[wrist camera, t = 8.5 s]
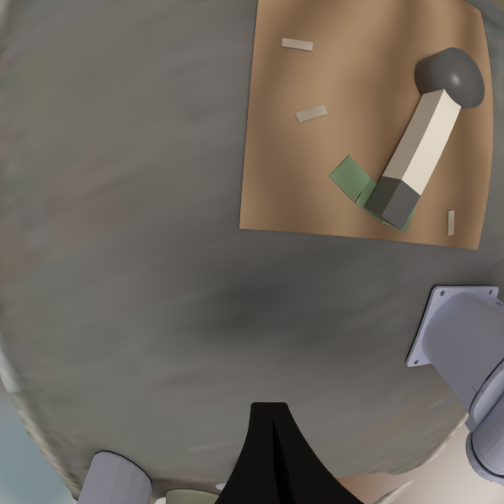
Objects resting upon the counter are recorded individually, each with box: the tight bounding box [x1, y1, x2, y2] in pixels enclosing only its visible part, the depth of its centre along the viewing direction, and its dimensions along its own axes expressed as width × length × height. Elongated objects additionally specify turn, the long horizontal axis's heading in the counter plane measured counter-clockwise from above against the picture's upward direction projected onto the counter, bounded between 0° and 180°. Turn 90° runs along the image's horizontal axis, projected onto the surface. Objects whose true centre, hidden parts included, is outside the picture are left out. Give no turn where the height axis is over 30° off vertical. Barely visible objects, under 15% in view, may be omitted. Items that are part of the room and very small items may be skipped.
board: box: [239, 0, 493, 250], centre depth 15 cm, size 19×22×1 cm
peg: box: [364, 47, 485, 230], centre depth 14 cm, size 13×4×3 cm, turn 151°
